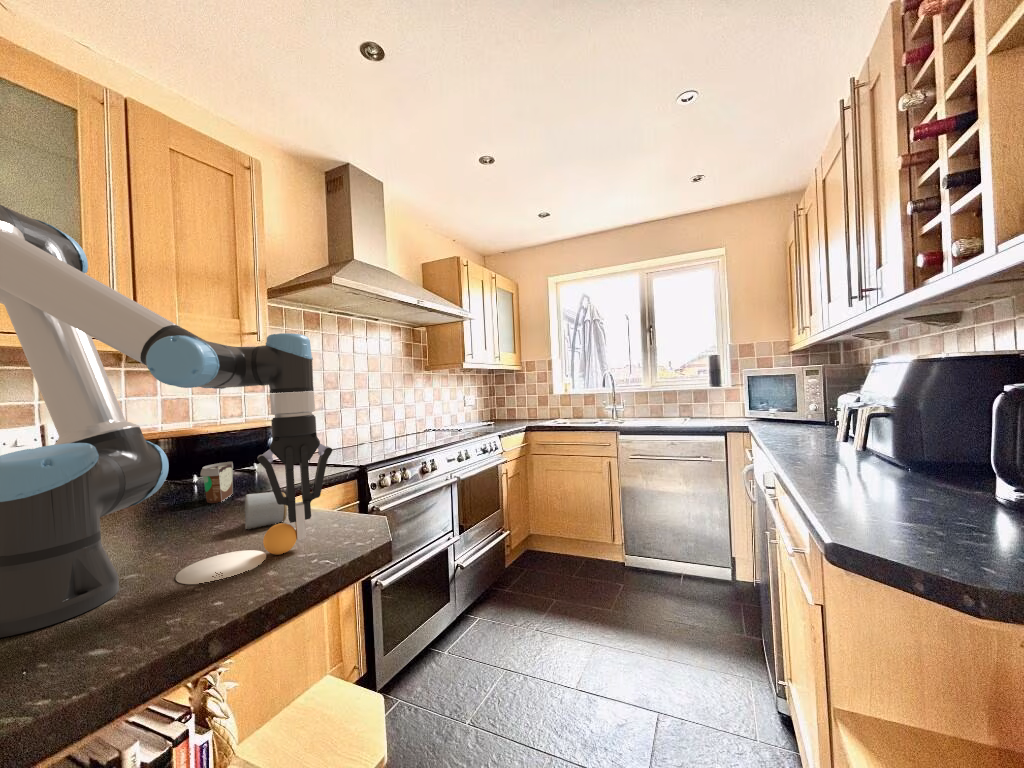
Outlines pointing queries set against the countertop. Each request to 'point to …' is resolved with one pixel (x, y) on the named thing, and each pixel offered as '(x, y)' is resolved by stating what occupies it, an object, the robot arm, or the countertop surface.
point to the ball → (280, 538)
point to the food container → (218, 481)
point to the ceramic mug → (263, 510)
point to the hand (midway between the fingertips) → (301, 537)
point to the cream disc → (220, 566)
